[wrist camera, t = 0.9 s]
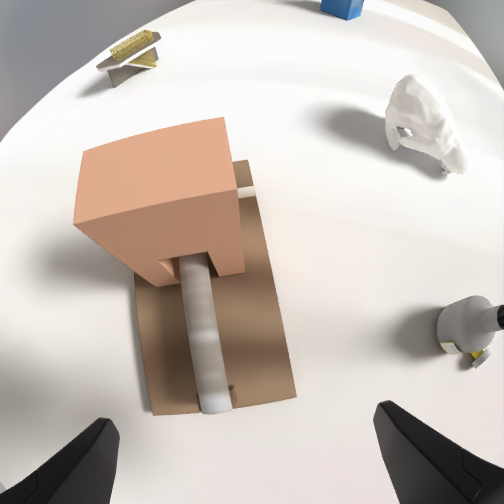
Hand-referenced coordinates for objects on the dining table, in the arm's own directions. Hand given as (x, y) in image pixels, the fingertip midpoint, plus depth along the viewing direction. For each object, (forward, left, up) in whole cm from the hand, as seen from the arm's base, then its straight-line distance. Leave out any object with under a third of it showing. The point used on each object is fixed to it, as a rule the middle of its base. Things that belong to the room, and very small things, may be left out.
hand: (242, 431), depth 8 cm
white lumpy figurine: (+29, -9, -14) cm, 33 cm away
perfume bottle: (+64, +8, -14) cm, 66 cm away
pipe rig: (+7, +7, -13) cm, 16 cm away
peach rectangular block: (+7, +8, -12) cm, 16 cm away
